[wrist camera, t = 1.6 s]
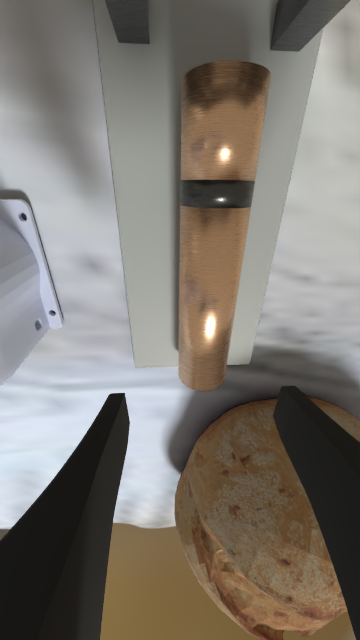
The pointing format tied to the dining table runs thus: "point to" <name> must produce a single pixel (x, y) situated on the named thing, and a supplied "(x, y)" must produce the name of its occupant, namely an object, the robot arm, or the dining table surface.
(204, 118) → the copper tube
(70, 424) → the dining table surface
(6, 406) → the dining table surface
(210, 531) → the bread
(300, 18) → the dark gray arch
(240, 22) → the pale gray board
